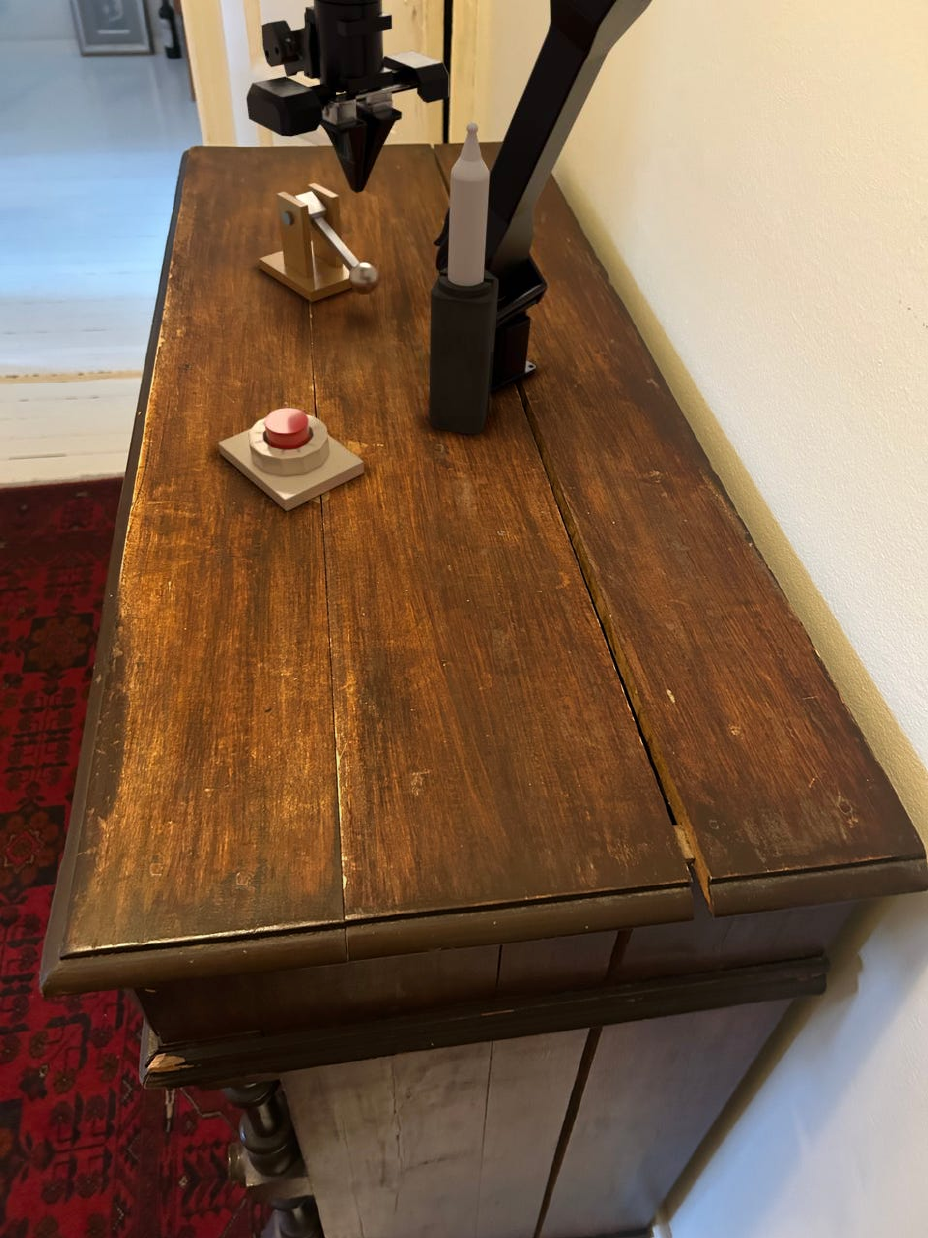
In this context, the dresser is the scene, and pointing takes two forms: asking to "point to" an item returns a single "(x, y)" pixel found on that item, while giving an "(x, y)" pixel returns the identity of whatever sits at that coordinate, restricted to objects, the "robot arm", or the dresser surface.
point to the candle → (464, 304)
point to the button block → (292, 463)
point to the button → (287, 429)
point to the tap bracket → (307, 248)
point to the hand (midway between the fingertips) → (356, 190)
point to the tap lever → (340, 248)
